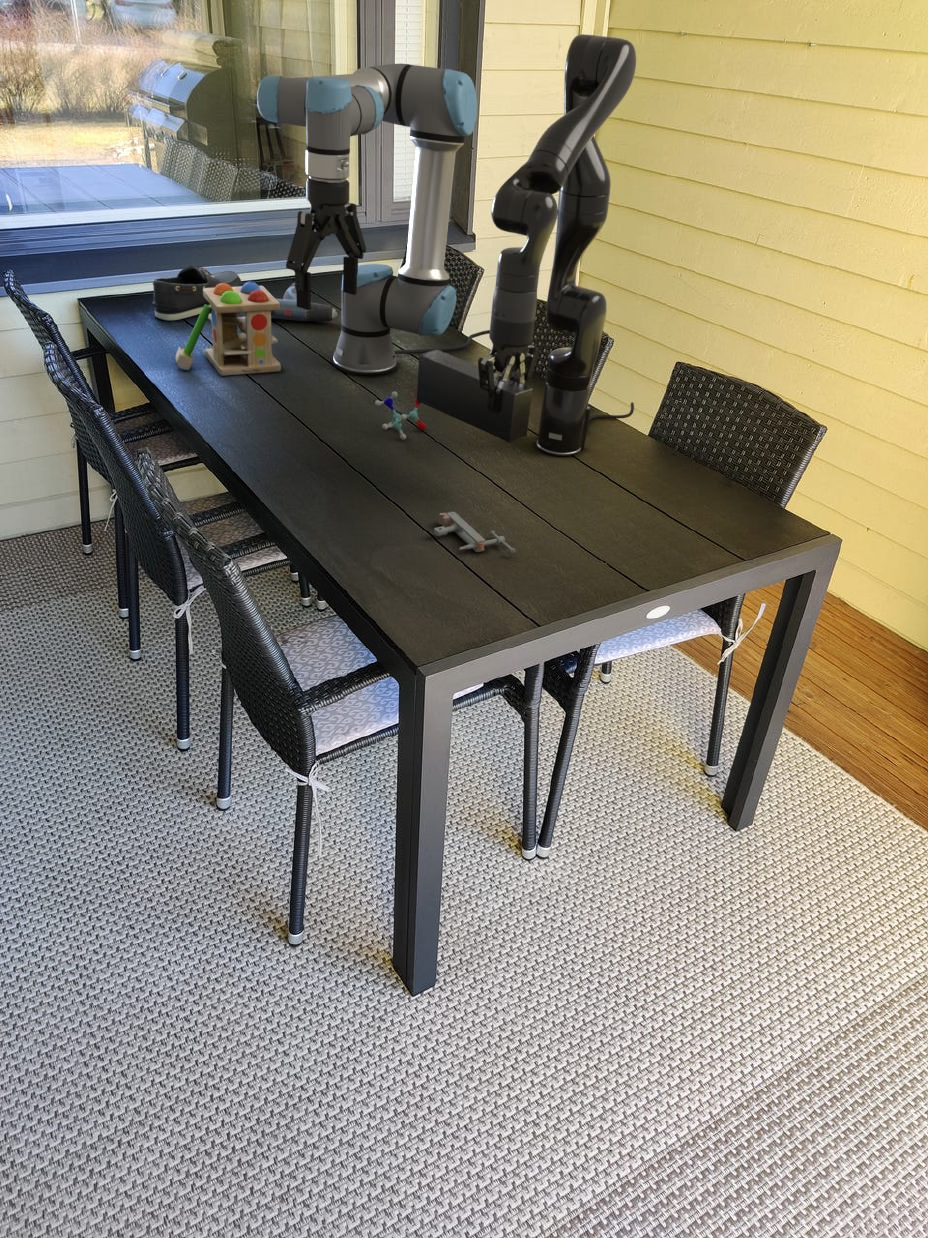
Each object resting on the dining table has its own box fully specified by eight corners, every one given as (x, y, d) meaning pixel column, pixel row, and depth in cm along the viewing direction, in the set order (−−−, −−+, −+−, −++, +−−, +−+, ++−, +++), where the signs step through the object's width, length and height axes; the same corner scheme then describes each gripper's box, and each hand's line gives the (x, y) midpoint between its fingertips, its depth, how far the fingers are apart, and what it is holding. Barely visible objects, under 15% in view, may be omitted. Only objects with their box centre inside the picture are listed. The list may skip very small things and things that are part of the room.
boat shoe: (260, 299, 274) (258, 261, 269) (172, 322, 251) (168, 281, 245) (227, 291, 280) (224, 253, 275) (137, 313, 256) (132, 272, 251)
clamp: (424, 515, 172) (473, 506, 177) (423, 526, 174) (472, 516, 178) (467, 556, 162) (517, 545, 167) (465, 568, 163) (516, 556, 168)
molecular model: (422, 431, 199) (406, 384, 197) (382, 446, 202) (366, 399, 201) (442, 428, 209) (426, 382, 208) (403, 442, 213) (388, 397, 212)
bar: (416, 400, 188) (418, 354, 182) (434, 394, 191) (437, 349, 185) (509, 442, 175) (515, 394, 170) (526, 436, 178) (532, 388, 173)
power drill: (344, 304, 276) (335, 327, 259) (277, 298, 275) (264, 321, 258) (344, 285, 273) (335, 306, 256) (277, 279, 272) (264, 300, 255)
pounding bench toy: (183, 379, 220) (176, 299, 210) (169, 357, 231) (162, 280, 221) (282, 371, 230) (280, 294, 220) (264, 350, 240) (262, 276, 230)
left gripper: (297, 190, 161) (299, 319, 173) (387, 173, 179) (383, 291, 191) (263, 182, 164) (266, 309, 176) (354, 166, 182) (352, 282, 194)
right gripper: (502, 327, 160) (492, 424, 170) (556, 312, 169) (544, 405, 179) (468, 314, 164) (460, 410, 174) (523, 300, 173) (513, 392, 183)
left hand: (327, 300), depth 183 cm, fingers open, 13 cm apart
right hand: (503, 407), depth 176 cm, fingers closed on bar, 5 cm apart
